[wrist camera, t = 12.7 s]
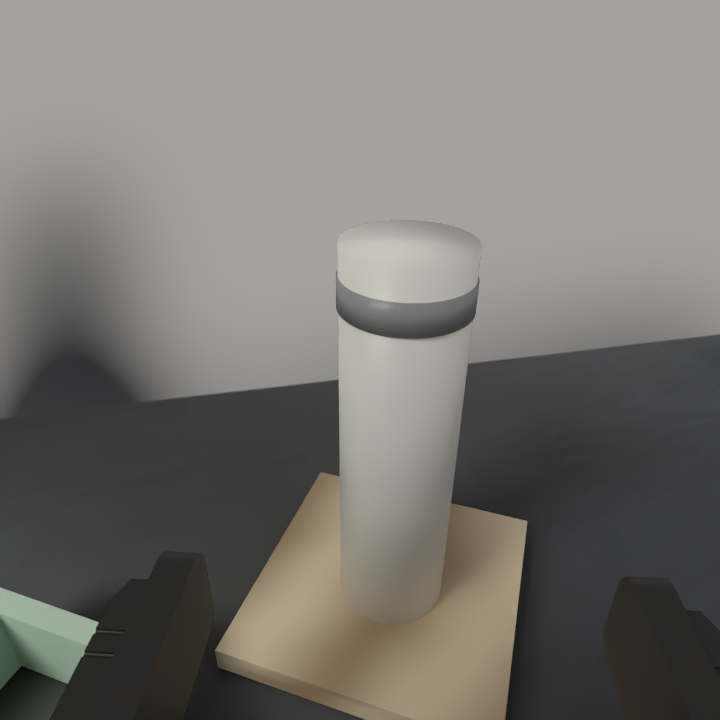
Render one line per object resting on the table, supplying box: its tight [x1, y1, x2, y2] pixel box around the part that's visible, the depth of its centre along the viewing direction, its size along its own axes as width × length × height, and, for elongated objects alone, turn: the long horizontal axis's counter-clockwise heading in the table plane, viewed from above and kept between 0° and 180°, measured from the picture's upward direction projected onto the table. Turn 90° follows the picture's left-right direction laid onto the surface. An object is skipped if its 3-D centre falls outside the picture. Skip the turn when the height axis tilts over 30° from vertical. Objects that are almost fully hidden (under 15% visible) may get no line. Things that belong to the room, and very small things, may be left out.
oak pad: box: [215, 472, 527, 720], centre depth 23 cm, size 10×10×1 cm
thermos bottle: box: [336, 220, 482, 625], centre depth 20 cm, size 4×4×14 cm
